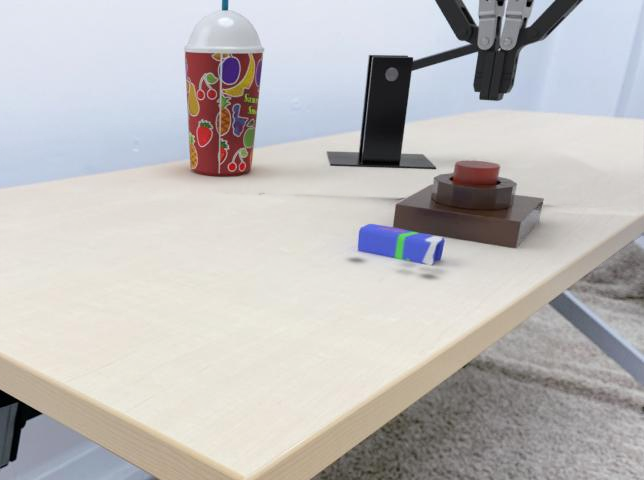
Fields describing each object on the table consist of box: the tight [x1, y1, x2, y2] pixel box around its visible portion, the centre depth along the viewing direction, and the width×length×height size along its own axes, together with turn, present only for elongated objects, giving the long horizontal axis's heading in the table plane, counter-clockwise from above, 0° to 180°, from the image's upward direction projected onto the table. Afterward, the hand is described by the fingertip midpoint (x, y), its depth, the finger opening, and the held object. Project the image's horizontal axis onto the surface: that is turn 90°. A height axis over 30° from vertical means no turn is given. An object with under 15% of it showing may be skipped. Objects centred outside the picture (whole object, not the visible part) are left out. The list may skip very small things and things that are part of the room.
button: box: [453, 160, 501, 186], centre depth 60 cm, size 4×4×2 cm
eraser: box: [357, 223, 446, 266], centre depth 53 cm, size 2×6×2 cm, turn 52°
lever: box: [412, 43, 501, 72], centre depth 81 cm, size 13×6×2 cm, turn 83°
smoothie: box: [183, 0, 265, 177], centre depth 75 cm, size 8×8×20 cm
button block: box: [392, 172, 544, 249], centre depth 61 cm, size 10×10×4 cm
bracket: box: [326, 54, 437, 170], centre depth 84 cm, size 12×9×13 cm
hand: (490, 99), depth 58 cm, fingers closed
